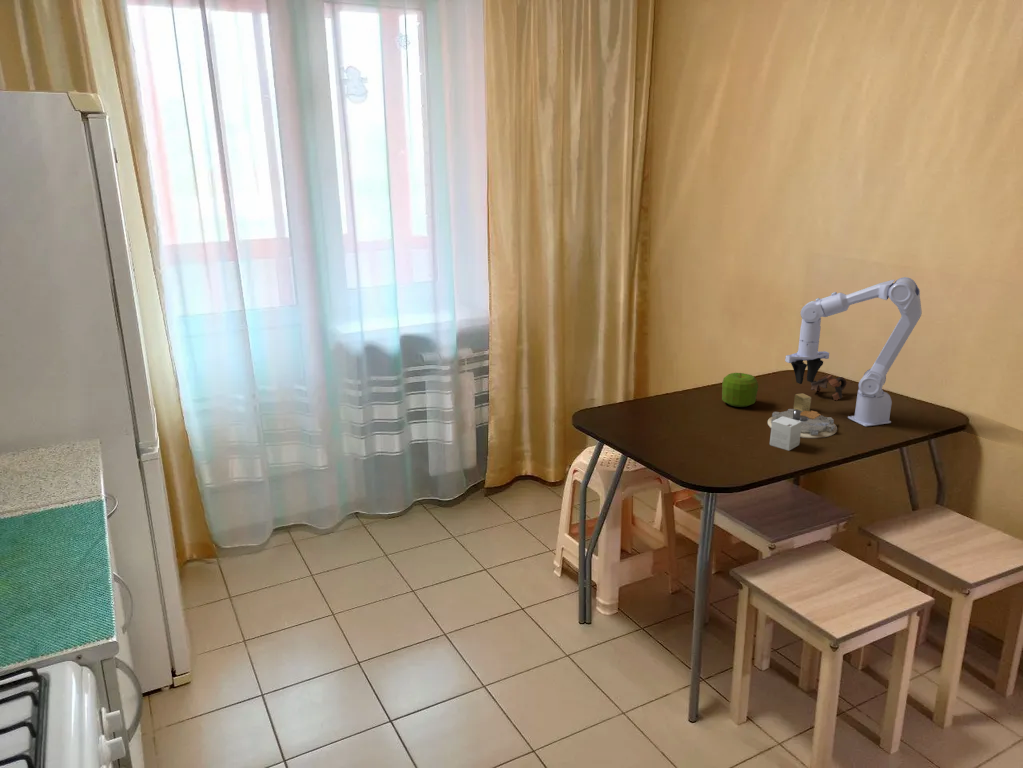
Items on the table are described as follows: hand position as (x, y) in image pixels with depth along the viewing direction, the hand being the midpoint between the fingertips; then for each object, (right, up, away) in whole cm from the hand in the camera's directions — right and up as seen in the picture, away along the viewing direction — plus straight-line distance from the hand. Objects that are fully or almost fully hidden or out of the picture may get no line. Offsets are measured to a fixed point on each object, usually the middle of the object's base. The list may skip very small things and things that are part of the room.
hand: (804, 382), depth 235 cm
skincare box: (-15, -18, -24) cm, 33 cm away
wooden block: (0, -9, +3) cm, 10 cm away
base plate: (-5, -13, -10) cm, 17 cm away
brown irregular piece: (+15, -5, +16) cm, 22 cm away
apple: (-18, -7, +9) cm, 22 cm away
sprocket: (-5, -13, -10) cm, 17 cm away
